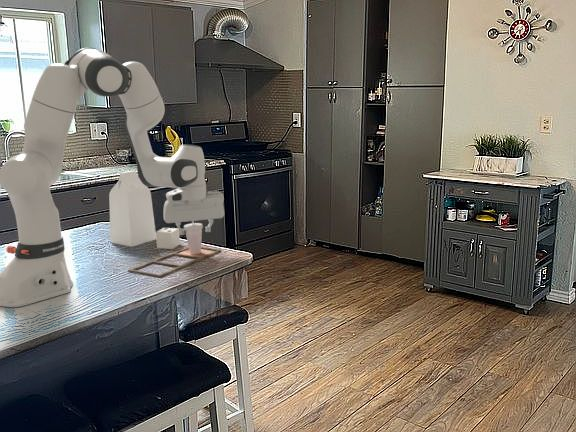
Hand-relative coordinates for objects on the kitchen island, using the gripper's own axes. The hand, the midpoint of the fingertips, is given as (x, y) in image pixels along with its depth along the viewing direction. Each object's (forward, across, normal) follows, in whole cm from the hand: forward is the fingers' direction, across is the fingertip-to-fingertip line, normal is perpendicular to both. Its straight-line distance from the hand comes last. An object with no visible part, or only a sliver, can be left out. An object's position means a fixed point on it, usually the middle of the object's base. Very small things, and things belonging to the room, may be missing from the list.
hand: (195, 233), depth 195 cm
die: (+7, +7, -13) cm, 17 cm away
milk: (+7, +18, -26) cm, 33 cm away
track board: (+7, +8, +6) cm, 12 cm away
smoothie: (+7, 0, 0) cm, 7 cm away
